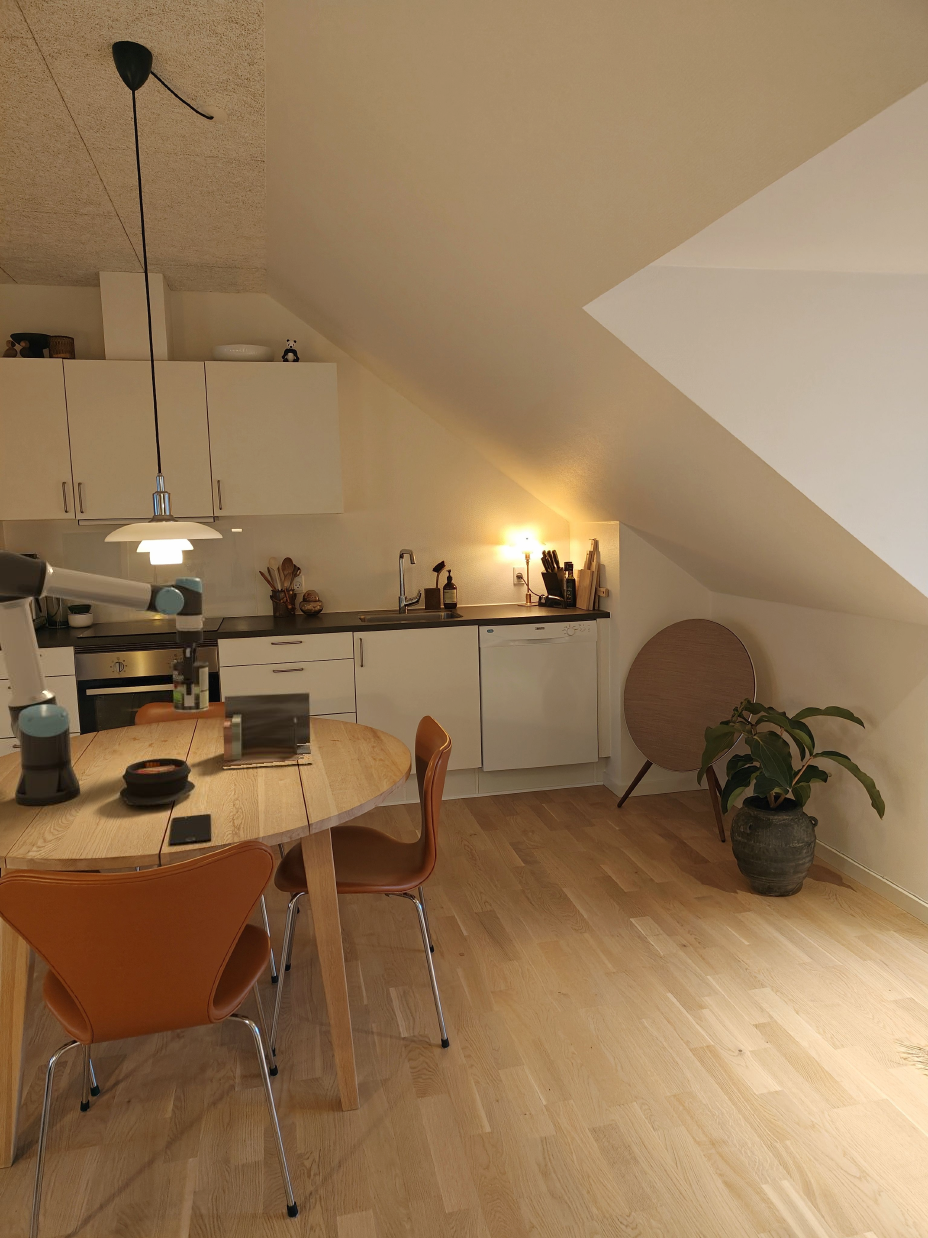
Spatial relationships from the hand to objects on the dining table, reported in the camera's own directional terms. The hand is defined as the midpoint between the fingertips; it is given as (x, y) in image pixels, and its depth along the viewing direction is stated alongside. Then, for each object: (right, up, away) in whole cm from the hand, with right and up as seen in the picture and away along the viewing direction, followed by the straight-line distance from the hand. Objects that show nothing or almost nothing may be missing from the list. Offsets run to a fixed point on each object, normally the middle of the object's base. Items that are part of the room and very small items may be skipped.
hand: (191, 702), depth 249 cm
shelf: (+22, -18, +5) cm, 29 cm away
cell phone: (+19, -25, -57) cm, 65 cm away
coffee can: (0, -2, 0) cm, 2 cm away
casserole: (+2, -22, -32) cm, 39 cm away
